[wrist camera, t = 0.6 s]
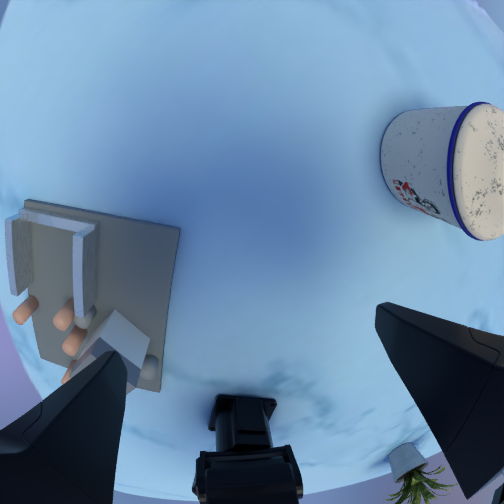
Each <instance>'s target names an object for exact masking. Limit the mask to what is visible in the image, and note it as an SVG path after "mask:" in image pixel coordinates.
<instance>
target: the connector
mask: <svg viewBox="0 0 504 504" xmlns="http://www.w3.org/2000/svg"><path fill="white" fill-rule="evenodd" d="M149 342H150V338H149V337H148V336H146V335H145V334H144V333H143V332H142V331H140V330H139V329H138V328H137V327H136V326H134V325H133V324H132V323H131V322H130V321H128V320H127V319H126V318H125V317H124V316H123V315H122V314H120V313H119V312H118V311H117V310H116V309H115V310H114V311H113V312H112V313H111V314H110V315H109V316H108V317H107V318H106V319H105V320H104V321H103V322H102V323H101V324H100V325H99V327H98V328H97V329H96V330H95V331H94V332H93V333H92V335H91V337H90V338H89V340H88V342H87V344H86V345H85V347H84V349H83V351H82V353H81V354H80V356H79V358H78V360H77V362H76V364H75V365H74V367H73V369H72V371H71V373H70V375H69V377H70V378H72V377H73V376H75V375H76V374H77V373H79V372H80V371H81V370H82V369H84V368H85V367H86V366H88V365H89V364H90V363H92V362H93V361H94V360H95V359H97V358H98V357H99V356H101V355H102V354H103V353H105V352H106V351H113V350H116V351H118V352H119V354H120V356H121V358H122V360H123V362H124V364H125V366H126V368H127V372H128V376H127V388H126V395H127V394H128V393H129V392H131V391H132V390H134V389H135V388H136V386H137V383H138V379H139V376H140V372H141V369H142V365H143V362H144V358H145V355H146V352H147V348H148V345H149Z"/></svg>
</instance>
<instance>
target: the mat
mask: <svg viewBox="0 0 504 504" xmlns="http://www.w3.org/2000/svg"><path fill="white" fill-rule="evenodd" d="M24 207H30V208H35V209H40V210H45V211H50V212H54V213H59V214H64V215H69V216H74V217H79V218H84V219H89V220H94V221H99V222H100V227H99V240H98V260H97V300H96V301H95V303H94V304H93V305H94V306H95V307H96V310H97V313H96V315H95V316H94V318H93V320H92V321H91V323H90V324H89V326H88V327H87V328H86V329H87V331H88V333H87V335H86V337H85V339H84V340H83V342H82V344H81V346H80V347H79V349H78V351H77V353H76V354H75V355H74V356H70V355H68V354H66V353H65V352H64V351H63V349H62V344H63V343H64V341H65V340H66V338H67V337H68V335H69V334H70V332H71V331H72V329H73V328H74V326H75V325H76V324H75V322H74V319H73V321H72V322H71V323H70V325H69V326H68V328H67V329H66V330H65V331H61V330H59V329H57V328H56V327H55V325H54V323H53V318H54V317H55V315H56V314H57V313H58V312H59V310H60V309H61V308H62V307H63V306H64V304H65V303H66V302H67V301H68V300H69V299H70V298H74V295H73V235H74V234H76V233H77V232H75V231H70V230H66V229H61V228H56V227H52V226H47V225H43V224H39V223H34V222H32V254H33V271H34V282H33V283H32V284H31V285H29V286H28V295H29V296H30V295H33V296H34V297H36V298H37V300H38V302H39V307H38V308H37V309H36V310H35V311H34V312H33V314H32V321H33V326H34V331H35V336H36V341H37V345H38V350H39V354H40V358H42V359H44V360H47V361H50V362H52V363H55V364H58V365H61V366H63V367H66V368H68V367H69V365H70V364H71V362H72V360H78V358H79V356H80V354H81V353H82V351H83V349H84V347H85V345H86V344H87V342H88V340H89V338H90V337H91V335H92V333H93V332H94V331H95V330H96V329H97V328H98V327H99V325H100V324H101V323H102V322H103V321H104V320H105V319H106V318H107V317H108V316H109V315H110V314H111V313H112V312H113V311H114V310H115V309H116V310H117V311H118V312H119V313H120V314H122V315H123V316H124V317H125V318H126V319H127V320H128V321H130V322H131V323H132V324H133V325H134V326H136V327H137V328H138V329H139V330H140V331H142V332H143V333H144V334H145V335H146V336H148V337H149V338H150V342H149V345H148V348H147V352H146V355H148V354H150V355H154V356H155V357H156V358H157V359H158V365H157V370H156V374H155V378H154V379H153V380H145V379H143V378H142V377H141V376H139V379H138V383H137V386H136V388H140V389H145V390H149V391H154V392H159V393H160V389H161V375H162V363H163V352H164V342H165V332H166V323H167V315H168V307H169V299H170V291H171V284H172V277H173V271H174V264H175V258H176V251H177V245H178V240H179V234H180V228H176V227H171V226H165V225H160V224H155V223H150V222H145V221H140V220H135V219H130V218H125V217H120V216H115V215H109V214H104V213H99V212H94V211H89V210H83V209H78V208H73V207H68V206H62V205H57V204H52V203H46V202H41V201H36V200H30V199H27V200H24Z"/></svg>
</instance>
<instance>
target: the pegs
mask: <svg viewBox="0 0 504 504" xmlns="http://www.w3.org/2000/svg"><path fill="white" fill-rule="evenodd" d="M38 307H39V302H38V300H37V298H36V297H34V296H33V295H30V296H29V297H28V298H27V299H26V300H25V301H24V302H23V303H22V304H21V305H20V306H19V307H18V308H17V309H16V310H15V311H14V312H13V314H12V315H13V319H14V320H15V322H16V323H17V324H19V325H23V324H24V323H25V321H26V320H27V319H28V318H29V317H30V316H31V315H32V314H33V312H34V311H35V310H36V309H37V308H38ZM96 313H97V310H96V307H95V306H94V305H92V307H91V308H90V310H89V311H88V313H87V314H86V316H85V317H84V318H82V317H78V316H75V311H74V298H70V299H69V300H68V301H67V302H66V303H65V304H64V306H63V307H62V308H61V309H60V310H59V312H58V313H57V314H56V315H55V317H54V318H53V323H54V325H55V327H56V328H57V329H59V330H61V331H65V330H66V329H67V328H68V326H69V325H70V323H71V322H72V321H73V319H74V322H75V324H76V325H75V326H74V328H73V329H72V331H71V332H70V334H69V335H68V337H67V338H66V340H65V341H64V343H63V344H62V349H63V351H64V352H65V353H66V354H68V355H70V356H74V355H75V354H76V353H77V351H78V349H79V347H80V346H81V344H82V342H83V340H84V339H85V337H86V335H87V333H88V331H87V329H86V328H87V327H88V326H89V324H90V323H91V321H92V320H93V318H94V316H95V315H96ZM76 362H77V360H72V362H71V364H70V365H69V367H68V369H67V371H66V373H65V375H64V377H63V378H62V381H61V382H62V384H64V383H66V382H67V381H68V380H69V379H71V378H70V377H69V375H70V373H71V371H72V369H73V367H74V365H75V364H76ZM157 365H158V359H157V358H156V357H155V356H154V355H150V354H148V355H145V358H144V362H143V365H142V369H141V372H140V376H141V377H142V378H143V379H145V380H153V379H154V378H155V374H156V370H157Z"/></svg>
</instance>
